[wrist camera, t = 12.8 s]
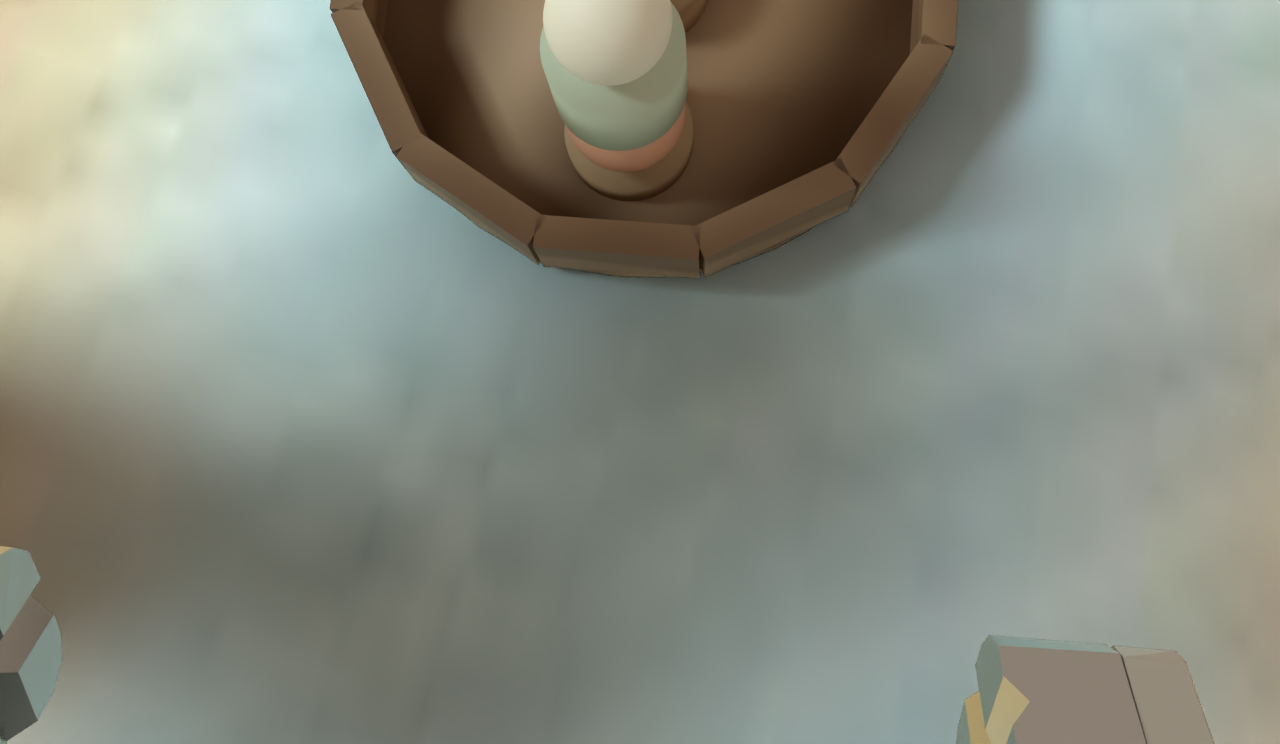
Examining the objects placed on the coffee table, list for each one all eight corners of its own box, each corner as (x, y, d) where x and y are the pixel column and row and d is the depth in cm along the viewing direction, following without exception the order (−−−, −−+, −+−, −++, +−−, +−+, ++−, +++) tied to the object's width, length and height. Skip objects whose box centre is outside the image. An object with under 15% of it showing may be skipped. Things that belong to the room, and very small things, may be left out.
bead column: (562, 197, 39) (509, 65, 28) (574, 77, 39) (526, -94, 29) (688, 205, 38) (680, 75, 28) (698, 84, 39) (694, -86, 29)
